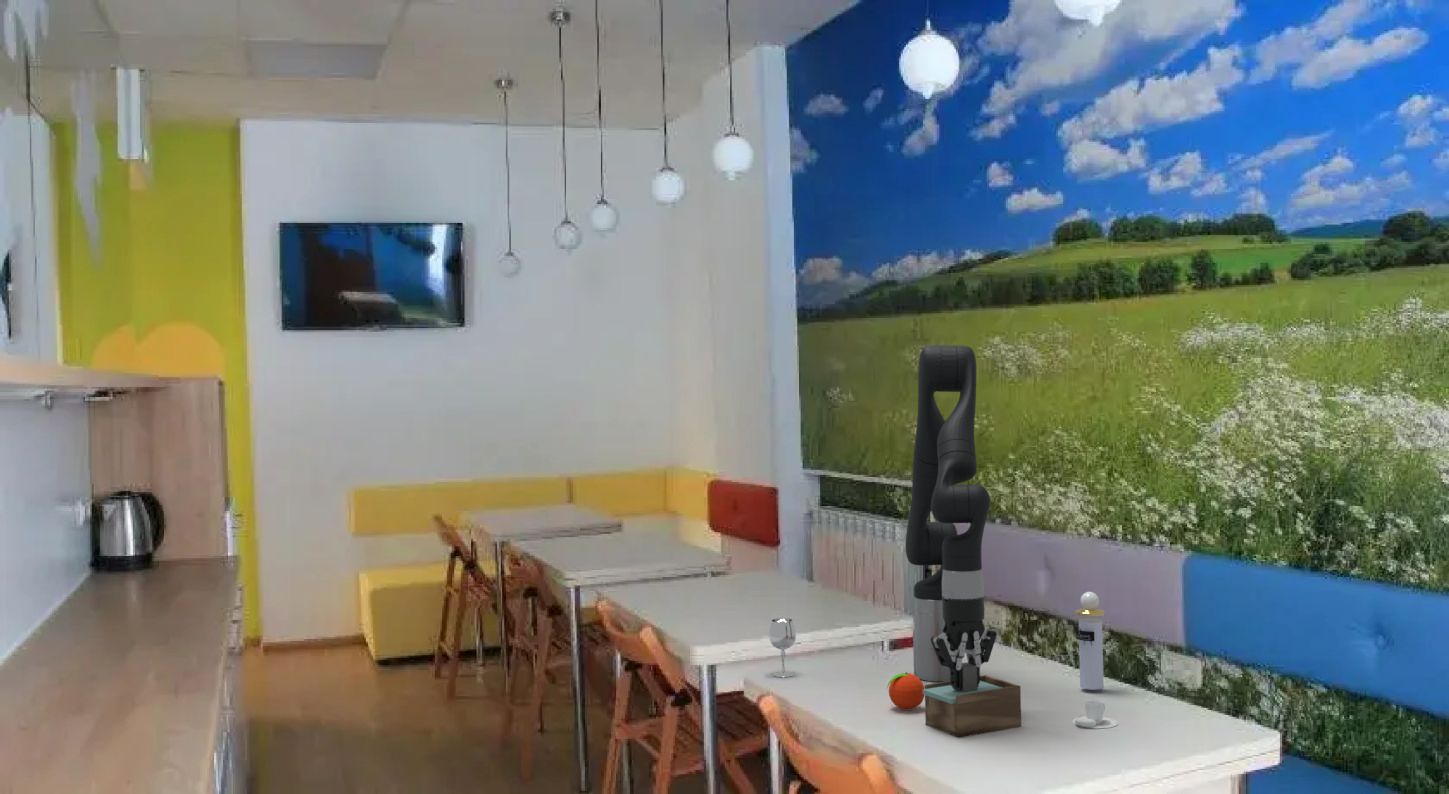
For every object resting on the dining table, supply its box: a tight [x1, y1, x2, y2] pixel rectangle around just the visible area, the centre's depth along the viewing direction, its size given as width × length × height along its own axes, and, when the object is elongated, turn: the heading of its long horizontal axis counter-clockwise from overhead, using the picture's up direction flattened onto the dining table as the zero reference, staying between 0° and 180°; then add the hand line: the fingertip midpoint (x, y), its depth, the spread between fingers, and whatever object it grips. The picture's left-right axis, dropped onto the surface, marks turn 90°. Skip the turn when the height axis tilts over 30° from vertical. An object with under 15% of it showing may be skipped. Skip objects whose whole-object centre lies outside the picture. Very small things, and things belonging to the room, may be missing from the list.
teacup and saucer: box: [1072, 699, 1119, 729], centre depth 225 cm, size 9×8×4 cm
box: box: [924, 674, 1022, 739], centre depth 225 cm, size 10×14×7 cm
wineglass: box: [768, 617, 797, 678], centre depth 269 cm, size 6×6×12 cm
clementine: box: [886, 672, 925, 711], centre depth 237 cm, size 8×7×7 cm
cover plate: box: [923, 662, 1002, 704], centre depth 224 cm, size 8×13×5 cm, turn 117°
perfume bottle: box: [1074, 591, 1106, 691], centre depth 248 cm, size 6×6×20 cm
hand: (965, 687), depth 224 cm, fingers closed on cover plate, 3 cm apart
